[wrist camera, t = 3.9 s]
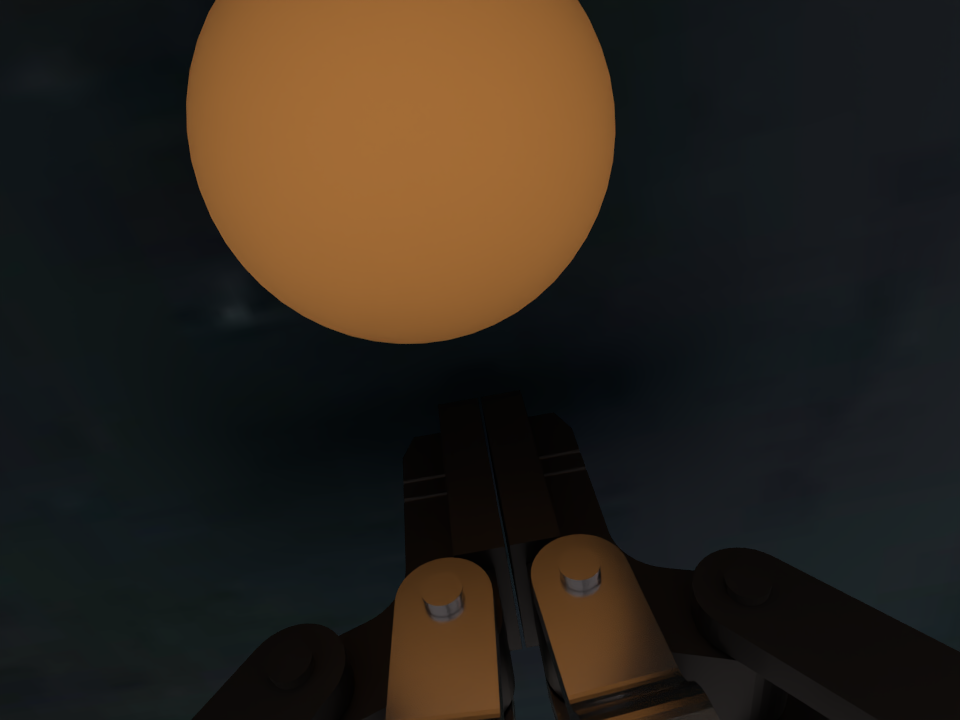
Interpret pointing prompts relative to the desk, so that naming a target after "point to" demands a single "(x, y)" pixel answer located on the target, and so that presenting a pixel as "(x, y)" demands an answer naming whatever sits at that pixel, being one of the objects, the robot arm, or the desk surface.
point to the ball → (401, 154)
